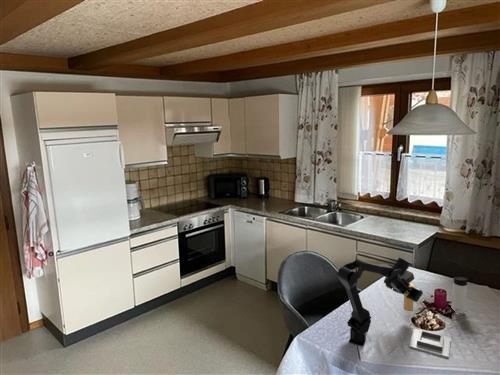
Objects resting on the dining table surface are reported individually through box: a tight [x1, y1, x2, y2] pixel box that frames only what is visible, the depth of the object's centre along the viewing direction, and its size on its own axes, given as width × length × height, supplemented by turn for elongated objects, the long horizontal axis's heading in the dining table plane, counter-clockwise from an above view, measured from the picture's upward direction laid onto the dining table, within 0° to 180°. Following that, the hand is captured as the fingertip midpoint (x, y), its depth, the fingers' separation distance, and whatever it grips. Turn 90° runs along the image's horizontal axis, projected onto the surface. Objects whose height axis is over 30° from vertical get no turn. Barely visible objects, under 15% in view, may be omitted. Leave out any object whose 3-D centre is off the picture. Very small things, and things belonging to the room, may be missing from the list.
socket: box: [409, 328, 452, 359], centre depth 171 cm, size 16×16×3 cm
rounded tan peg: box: [403, 283, 416, 312], centre depth 187 cm, size 5×5×13 cm
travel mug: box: [450, 276, 468, 316], centre depth 194 cm, size 6×7×20 cm
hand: (410, 296), depth 188 cm, fingers closed on rounded tan peg, 5 cm apart
